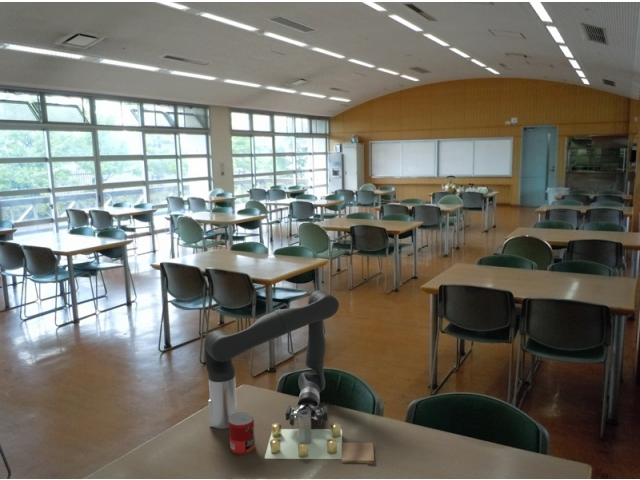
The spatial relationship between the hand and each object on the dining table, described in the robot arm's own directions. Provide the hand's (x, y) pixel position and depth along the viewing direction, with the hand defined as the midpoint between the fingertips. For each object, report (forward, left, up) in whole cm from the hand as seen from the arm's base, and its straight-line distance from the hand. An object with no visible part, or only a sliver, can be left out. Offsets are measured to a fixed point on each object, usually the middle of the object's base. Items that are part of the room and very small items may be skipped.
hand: (305, 423), depth 174 cm
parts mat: (0, -2, -6) cm, 6 cm away
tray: (+17, -8, -6) cm, 20 cm away
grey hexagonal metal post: (0, -1, -6) cm, 6 cm away
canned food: (-20, -5, -6) cm, 22 cm away
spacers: (0, -3, -6) cm, 6 cm away
